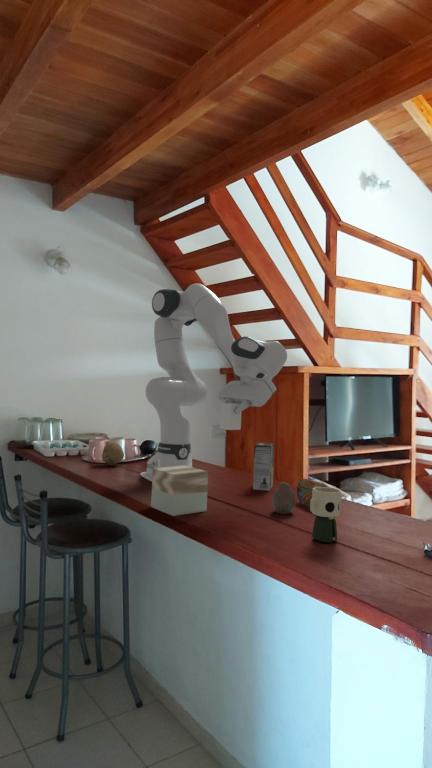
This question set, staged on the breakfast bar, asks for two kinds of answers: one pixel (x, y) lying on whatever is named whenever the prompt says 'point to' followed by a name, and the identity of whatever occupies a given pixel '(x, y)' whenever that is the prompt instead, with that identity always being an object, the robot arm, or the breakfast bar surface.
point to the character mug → (325, 512)
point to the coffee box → (263, 466)
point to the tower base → (179, 502)
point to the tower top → (180, 480)
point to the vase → (283, 499)
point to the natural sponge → (112, 453)
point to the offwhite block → (229, 417)
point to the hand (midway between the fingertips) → (229, 411)
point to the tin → (307, 490)
